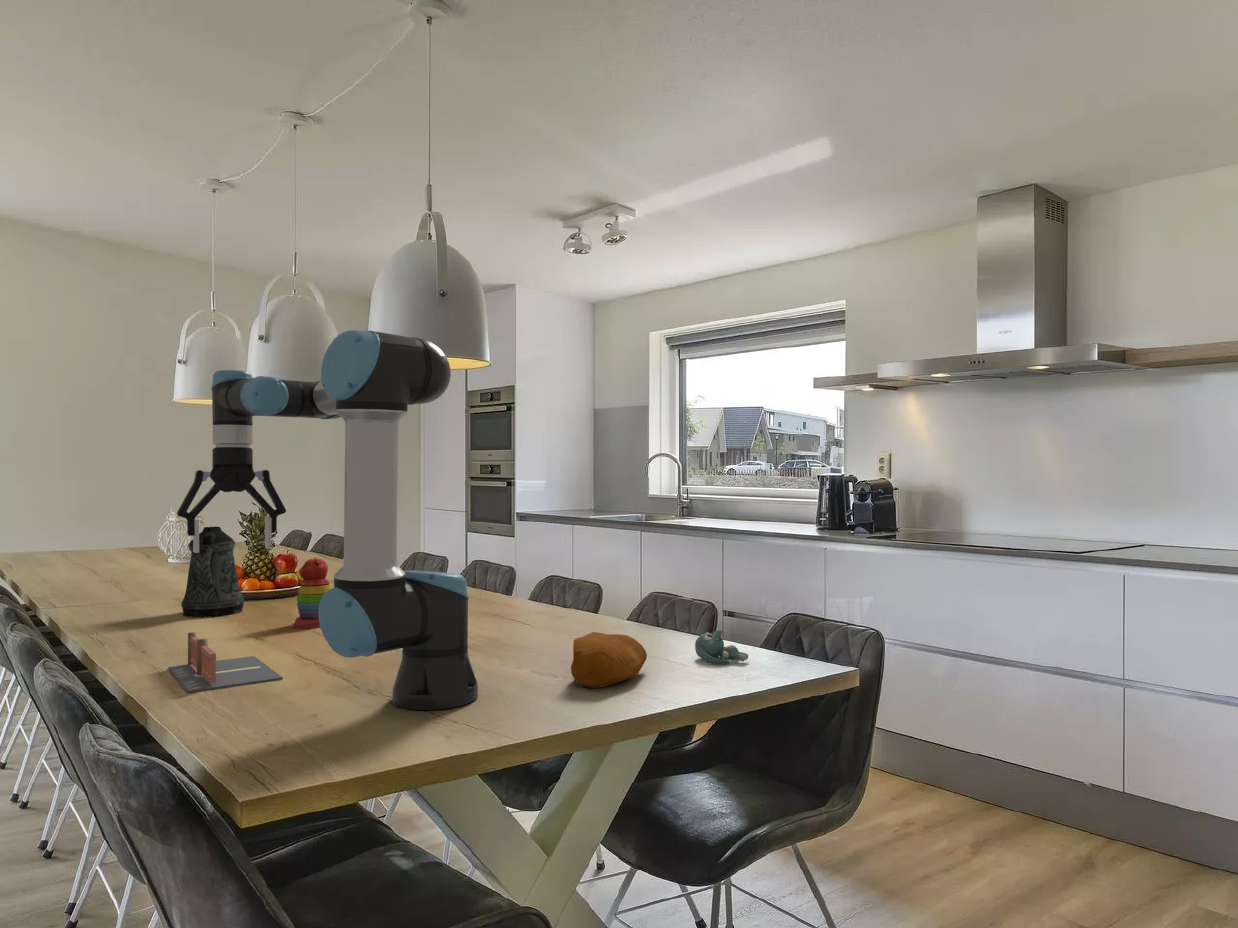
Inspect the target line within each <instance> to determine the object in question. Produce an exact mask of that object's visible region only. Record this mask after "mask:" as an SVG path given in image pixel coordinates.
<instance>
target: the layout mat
mask: <svg viewBox="0 0 1238 928" xmlns="http://www.w3.org/2000/svg"><path fill="white" fill-rule="evenodd" d="M168 670H169V671H170V672H171V674H172V675H173V676H174V677H175V679H176V680H177V681H178V683H179V684H180V685H181V686H182V687H183V688H184V690H185V692H187V693H189V694H190V693H191V694H192V693H196V692H203V691H210V690H218V689H225V688H231V687H232V688H233V687H239V686H244V685H252V684H260V683H266V682H273V681H274V682H275V681H280V680H283V679H284V678H283V676H282V675H280V674H279V673H278V672H276V671H275V670H274V669H272V668H271V667H270V666H268V665H267V664H266V663H264V662H263V661H261V660H260V659H259V658H258V657H257V656H255V655H250V656H243V657H242V656H241V657H235V658H229V659H226V658H225V659H220V660H218V659H217V660H216V682H215V683H210V682H209V681H208V680H207V679H206V678H205V677H204V676H198V675H197V669H196V668H195V667H194V666H193V665H188V663H187V664H179V665H174V666H173V665H172V666H168Z"/></svg>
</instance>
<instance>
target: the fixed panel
mask: <svg viewBox="0 0 1238 928" xmlns="http://www.w3.org/2000/svg"><path fill="white" fill-rule="evenodd" d="M206 645H207V646H208V647H209V639H208V638H199V637H198V636H197V632H196V631H194V632H193V631H192V632H191V631H190V632H188V633H187V664H188V665H193V666H194V667H195V668H196V669H197V675H198V676H203V675H202V674H201V669H202V651H201V646H206Z"/></svg>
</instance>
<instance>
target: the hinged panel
mask: <svg viewBox="0 0 1238 928" xmlns="http://www.w3.org/2000/svg"><path fill="white" fill-rule="evenodd" d="M201 651H202V669H201V674H202V675H203V676H204V677H205V678H206V679H207V680H208V681H209V682H210V683H215V682H216V661H217V660H216V659H217V653H216V652H215V651H213V650H212V649H211V648H210V647H209V645H208V646H207V645H206V646H201Z"/></svg>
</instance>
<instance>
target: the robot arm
mask: <svg viewBox="0 0 1238 928" xmlns="http://www.w3.org/2000/svg"><path fill="white" fill-rule="evenodd" d="M451 377H452V376H451V366H450V362H449V359H448V357H447V356H446V354H445V352H444V351H443V350H442V349H441V348H440V347H439V346H437V345H436V344H435V343H433V342H431V341H430V340H426V339H424V338H420V337H413V336H412V337H410V336H405V335H399V334H393V333H386V332H380V331H375V330H362V329H361V330H359V329H358V330H357V329H355V330H354V329H351V330H345V331H343V332H341V333H339V334H338V335H337V336H335V337H334V338H333V340H332V341H331V343H330V344H329V345H328V347H327V349H326V351H325V353H324V355H323V358H322V363H321V367H320V380H315V381H302V380H293V379H292V380H290V379H281V378H276V377H274V376H262V375H260V376H259V375H258V376H256V377H253V375H252V373H251V372H249V371H246V370H239V369H227V370H226V369H225V370H223V369H221V370H217V371H214V373H213V375H212V385H211V389H210V390H211V398H212V399H211V400H212V401H211V407H212V414H211V415H212V444H213V445H215V447H213V448H212V451H211V452H212V466H211V467H212V468H211V471H204V470H201V469H199V470H198V469H197V470H196V471H195V472H194V480H193V482H192V483H191V487H190V488H189V490H188V492H187V493H186V495H185V497H184V499H183V501H182V502H181V504H180V506H179V508H178V509H177V512H176V515H177V516H178V517H180V518H184V519H186V521H187V522H186V528H187V529H186V533H187V535H188V537H192V540H193V552H194V553H199V534H200V519H198V518H197V519H196V517H198V515H199V514H200V513H201V512H202V511H203V510H204V509H205V507H206V506H207V505H209V503H210V502H211V501H212V500H213V498H214V497H216V495H218V494H219V492H224V493H231V492H237V493H242V492H244V491H246V493H248V494H249V495H250V497H252V499H253V500H254V501H255V502H256V503H257V504H258V505H259V506H260V507H261V509H263V510H264V512H265V513H266V514H267V515H268V516H265V517H264V548H265V549H267V550H271V549H272V533H276V532H277V527H278V526H277V525H278V524H277V523H278V522H277V520H278V519H277V518H278V517H279V516H281V515H283V514H285V513H286V512H287V509H286V507H285V506H284V503H283V501H282V499H281V497H280V496H279V494H278V492H277V490H276V489H275V487H274V485H273V483H272V480H271V476H270V475H271V474H270V470H268V469H262V470H259V471H255V470H254V466H253V465H254V464H253V463H254V461H253V459H254V458H253V457H254V456H253V454H254V453H253V452H254V449H253V448H252V447H251V446H252V445H253V442H254V440H253V438H254V436H253V424H254V422H253V417H277V418H279V417H280V418H281V417H283V418H305V419H308V418H309V419H320V420H330V419H331V420H333V419H340V418H341V419H343V421H344V427H345V429H344V494H343V495H344V498H343V499H344V507H343V509H344V511H343V517H344V520H343V528H344V529H343V565H342V566H341V567H340V569H338V570H337V571H336V572H335V574H333V587H332V589H330V590H328V591H326V592H325V593H324V594H323V596H322V599H321V600H320V603H319V610H318V615H319V623H320V627H319V628H320V630H321V633H322V635H323V637H324V640H325V641H326V643H327V644H328V647H330V649H331V650H332V651H334V652H335V653H336V654H338V655H339V656H341V657H344V658H348V659H349V658H351V659H352V658H353V659H354V658H358V657H366V658H367V657H371V656H373V655H375V654H381V653H385V652H390V651H391V652H392V651H395V650H401V649H402V651H401V652H402V655H401V656H402V657H401V661H400V664H399V667H398V671H397V674H396V677H395V681H394V683H393V687H392V691H391V692H392V695H391V697H392V704H393V705H395V706H396V707H399V708H402V709H408V710H419V711H420V710H421V711H432V710H433V711H434V710H435V711H436V710H445V709H453V708H457V707H461V706H465V705H467V704H471V703H472V702H474V701H475V700H478V696H479V694H478V693H479V686H478V685H479V684H478V680H477V679H476V676H475V673H474V670H473V666H472V663H471V660H470V657H469V647H468V646H469V644H468V643H469V641H468V640H469V639H468V637H469V634H468V632H469V630H468V627H469V624H468V623H469V622H468V621H469V620H468V619H469V617H468V616H469V614H468V613H469V612H468V611H469V595H468V584H467V580H466V578H465V576H463V575H462V574H460V573H459V574H458V573H452V572H445V571H444V572H442V571H431V570H430V571H428V570H413V569H412V570H411V569H409V570H403V569H402V568H401V567H400V566H399V565H398V563H397V560H398V559H397V558H398V557H397V555H398V554H397V553H398V552H397V551H398V547H397V544H398V483H399V482H398V480H399V479H398V478H399V477H398V476H399V475H398V474H399V473H398V469H399V468H398V467H399V463H398V462H399V461H398V460H399V458H398V457H399V424H400V422H401V420H402V419H404V418H405V417H406V416H407V415H408V410H409V409H408V406H413V405H422V404H428V403H432V402H433V401H436V400H437V399H439V398H440V397H442V395H443V394H444V393H445V392H446V390H447V389H448V387H449V384H450V381H451ZM256 477H257V479H258V481H261V482H262V485H263V487H264V488H265V490H266V492H267V494H268V496H269V498H270V499H271V501H272V504H273V505H274V507H275V509H274V508H273V507H272V506H271V505H270V504H269V502H268V501H267V500H266V499H265V498H264V497H263V496H262V495H261V493H259V492H258V490H257V489H256V488H255V487H254V486H253V484H251V483H252V482H253V481H254V479H255V478H256ZM208 478H210V479H211V480H212V482H213V483H214V484H213V485H212V486H211V487H210V489H209V490H208V492H206V493H205V495H204V496H203V497H202V498H201V499H200V500H199V501H198V502H197V504H195V506H193V508H192V509H191V510H190V511H189V512H188V510H189V509H190V506H191V504H192V503H193V501H194V498H195V497H196V495H197V494H198V492H199V490H200V489H201V486H202V483H204V482H206V481H207V479H208Z"/></svg>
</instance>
